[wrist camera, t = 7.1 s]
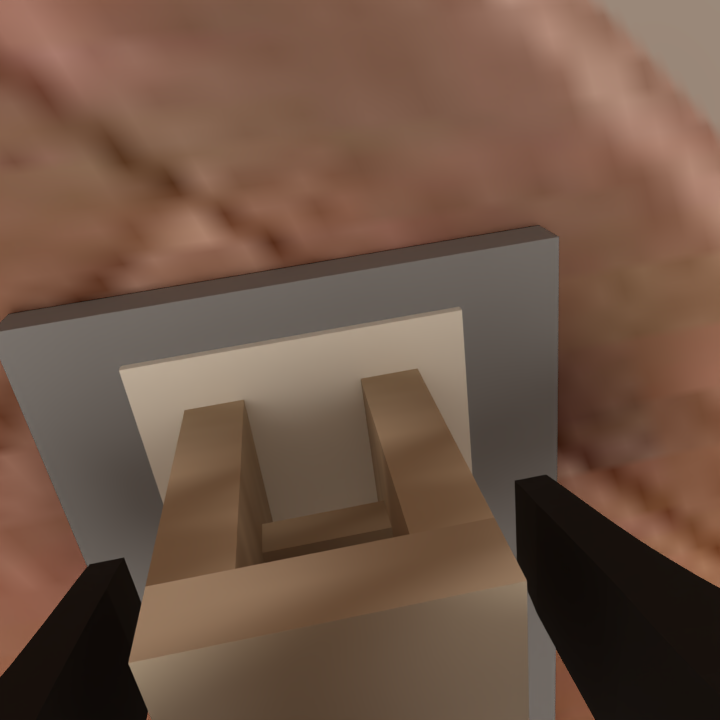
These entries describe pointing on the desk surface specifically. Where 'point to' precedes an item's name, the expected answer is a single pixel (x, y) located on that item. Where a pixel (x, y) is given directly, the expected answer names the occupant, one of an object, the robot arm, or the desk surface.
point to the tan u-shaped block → (332, 584)
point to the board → (298, 385)
